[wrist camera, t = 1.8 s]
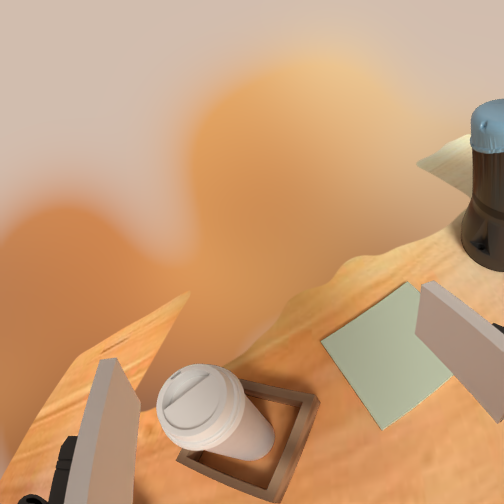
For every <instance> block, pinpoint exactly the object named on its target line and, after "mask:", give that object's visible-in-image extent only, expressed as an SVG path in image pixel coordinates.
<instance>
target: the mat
mask: <svg viewBox="0 0 504 504" xmlns="http://www.w3.org/2000/svg"><path fill="white" fill-rule="evenodd" d="M419 301H420V292H419V291H418V290H417V289H416V288H415V287H413V286H412V285H411V284H410V283H409V282H408V281H407V282H406V283H405V284H403V285H402V286H401V287H399V288H398V289H397V290H395V291H394V292H393V293H391V294H390V295H389V296H387V297H386V298H384V299H383V300H382V301H380V302H379V303H377V304H376V305H375V306H373V307H372V308H370V309H369V310H367V311H366V312H364V313H363V314H361V315H360V316H359V317H357V318H356V319H354V320H353V321H351V322H350V323H348V324H347V325H345V326H344V327H342V328H340V329H339V330H337V331H336V332H334V333H333V334H331V335H330V336H328V337H326V338H325V339H323V340H322V341H321V343H322V345H323V346H324V347H325V349H326V350H327V352H328V353H329V355H330V356H331V358H332V359H333V360H334V362H335V363H336V365H337V366H338V368H339V369H340V371H341V372H342V374H343V375H344V376H345V378H346V379H347V381H348V382H349V384H350V385H351V387H352V388H353V389H354V391H355V392H356V394H357V395H358V397H359V398H360V400H361V401H362V402H363V404H364V405H365V407H366V408H367V410H368V411H369V413H370V414H371V416H372V417H373V418H374V420H375V421H376V423H377V424H378V426H379V427H380V429H381V430H384V429H385V428H387V427H388V426H390V425H391V424H392V423H394V422H395V421H397V420H398V419H400V418H401V417H402V416H404V415H405V414H406V413H408V412H409V411H410V410H412V409H413V408H414V407H416V406H417V405H418V404H420V403H421V402H422V401H424V400H425V399H426V398H427V397H429V396H430V395H431V394H432V393H433V392H435V391H436V390H437V389H438V388H439V387H441V386H442V385H443V384H444V383H445V382H446V381H448V380H449V379H450V378H451V377H452V376H453V375H454V374H453V373H452V372H451V371H450V370H449V369H448V368H447V367H446V366H445V365H444V364H443V363H442V362H441V361H440V360H439V358H438V357H437V356H436V355H435V354H434V353H433V352H432V351H431V350H430V349H429V348H428V347H427V346H426V345H425V344H424V343H423V342H422V341H421V340H420V339H419V338H418V337H417V336H416V335H415V328H416V322H417V315H418V308H419Z"/></svg>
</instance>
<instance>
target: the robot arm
mask: <svg viewBox="0 0 504 504" xmlns="http://www.w3.org/2000/svg"><path fill="white" fill-rule="evenodd" d="M470 144H471V147H472V158H473V193H472V198H471V201H470V203H469V206H468V208H467V211H466V213H465V215H464V218H463V221H462V229H461V240H462V244H463V246H464V248H465V250H466V252H467V253H468V254H469V256H470V257H471V258H472V259H473V260H475V261H476V262H477V263H479V264H480V265H482V266H484V267H486V268H488V269H491V270H494V271H499V272H504V99H497V100H492V101H489V102H486V103H484V104H482V105H480V106H479V107H477V108H476V109H475V111H474V112H473V114H472V117H471V138H470ZM415 335H416V336H417V337H418V338H419V339H420V340H421V341H422V342H423V343H424V344H425V345H426V346H427V347H428V348H429V349H430V350H431V351H432V352H433V353H434V354H435V355H436V356H437V357H438V358H439V360H440V361H441V362H442V363H443V364H444V365H445V366H446V367H447V368H448V369H449V370H450V371H451V372H452V373H453V374H454V376H455V377H456V378H457V379H458V380H459V381H460V382H461V383H462V384H463V385H464V386H465V388H466V389H467V390H468V391H469V392H470V393H471V394H472V395H473V396H474V398H475V399H476V400H477V401H478V402H479V403H480V404H481V405H482V407H483V408H484V409H485V410H486V411H487V412H488V413H489V415H490V416H491V417H492V418H493V419H494V420H495V422H496V423H497V424H498V423H499V422H501V421H502V420H503V419H504V327H502V326H500V325H497V324H495V323H493V324H490V323H489V322H488V321H487V320H485V319H484V318H483V317H482V316H480V315H479V314H478V313H477V312H475V311H474V310H473V309H471V308H470V307H469V306H467V305H466V304H465V303H464V302H462V301H461V300H460V299H458V298H457V297H456V296H454V295H453V294H452V293H450V292H449V291H447V290H446V289H445V288H443V287H442V286H441V285H439V284H438V283H437V282H435V281H431V282H428V283H425V284H422V285H421V293H420V301H419V308H418V315H417V322H416V328H415ZM140 408H141V402H140V400H139V398H138V397H137V395H136V393H135V391H134V390H133V388H132V386H131V384H130V382H129V381H128V379H127V377H126V375H125V373H124V371H123V369H122V367H121V365H120V363H119V361H118V359H117V358H110V359H103V360H100V362H99V365H98V368H97V371H96V374H95V377H94V381H93V384H92V387H91V391H90V394H89V397H88V401H87V404H86V408H85V411H84V415H83V419H82V423H81V426H80V430H79V434H78V436H68V437H67V439H66V440H65V442H64V443H63V445H62V446H61V449H60V453H59V457H58V460H59V461H57V465H56V470H55V473H54V477H53V482H52V486H51V491H50V496H49V501H48V502H47V501H46V500H44V499H43V498H41V497H40V496H38V495H34V494H29V495H26V496H24V497H23V498H22V499H20V500H19V502H18V504H133V489H134V472H135V459H136V447H137V436H138V426H139V417H140Z"/></svg>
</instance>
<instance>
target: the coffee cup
mask: <svg viewBox="0 0 504 504" xmlns="http://www.w3.org/2000/svg"><path fill="white" fill-rule="evenodd" d="M157 416H158V419H159V421H160V423H161V426H162V428H163V430H164V432H165V433H166V435H167V436H168V437H169V438H170V439H171V440H172V441H173V442H174V443H175V444H176V445H178V446H180V447H182V448H184V449H187V450H193V451H200V450H206V451H209V452H213V453H217V454H221V455H225V456H228V457H232V458H237V459H241V460H245V461H254V460H258V459H260V458H262V457H264V456H265V455H266V454H267V453H268V452H269V451H270V450H271V448H272V447H273V444H274V441H275V433H274V429H273V427H272V426H271V424H270V423H269V422H268V421H267V420H266V418H265V417H264V416H263V415H262V414H261V413H260V412H259V410H258V409H257V408H256V407H255V406H254V405H253V403H252V402H251V401H250V400H249V399H248V397H247V396H246V395H245V394H244V390H243V387H242V384H241V382H240V381H239V379H238V378H237V377H236V376H235V375H234V374H233V373H232V372H231V371H229V370H227V369H225V368H223V367H220V366H216V365H209V364H193V365H189V366H186V367H183V368H182V369H180V370H178V371H176V372H175V373H174V374H173V375H172V376H170V377H169V379H168V380H167V381H166V382H165V384H164V385H163V387H162V389H161V390H160V393H159V396H158V399H157Z"/></svg>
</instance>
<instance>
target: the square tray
mask: <svg viewBox="0 0 504 504" xmlns="http://www.w3.org/2000/svg"><path fill="white" fill-rule="evenodd" d="M238 379H239V378H238ZM239 381H240V382H241V384H242V387H243V390H244V394H246V395H250V396H253V397H257V398H261V399H265V400H269V401H274V402H278V403H282V404H287V405H291V406H296V407H301V408H300V411H299V413H298V416H297V419H296V421H295V424H294V426H293V429H292V432H291V434H290V437H289V439H288V442H287V444H286V446H285V449H284V451H283V454H282V456H281V458H280V461H279V463H278V465H277V468H276V470H275V472H274V475H273V477H272V479H271V481H270V484H269V486H268V488H267V489H264V488H261V487H258V486H255V485H253V484H250V483H247V482H245V481H242V480H240V479H237V478H235V477H232V476H230V475H227V474H225V473H223V472H220V471H218V470H216V469H213V468H211V467H209V466H207V465H205V464H202V463H200V462H198V461H199V458H200V456H201V454H202V452H203V450H200V451H193V450H187V449H184V448H182V450H181V451H180V453H179V455H178V457H177V459H176V461H177V462H179V463H181V464H183V465H185V466H187V467H189V468H191V469H193V470H195V471H197V472H199V473H201V474H203V475H205V476H207V477H209V478H212V479H214V480H216V481H218V482H220V483H223V484H225V485H227V486H230V487H232V488H234V489H237V490H239V491H242V492H244V493H247V494H249V495H252V496H255V497H257V498H260V499H263V500H266V501H269V502H271V503H281V501H282V498H283V496H284V494H285V492H286V490H287V487H288V485H289V483H290V480H291V478H292V476H293V473H294V471H295V468H296V466H297V464H298V461H299V459H300V456H301V454H302V451H303V449H304V446H305V443H306V441H307V438H308V435H309V433H310V430H311V427H312V425H313V422H314V419H315V416H316V413H317V411H318V408H319V405H320V401H319V400H318V398H317V397H316V395H314V394H308V393H303V392H298V391H293V390H288V389H283V388H278V387H273V386H269V385H264V384H260V383H255V382H251V381H247V380H243V379H239Z"/></svg>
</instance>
